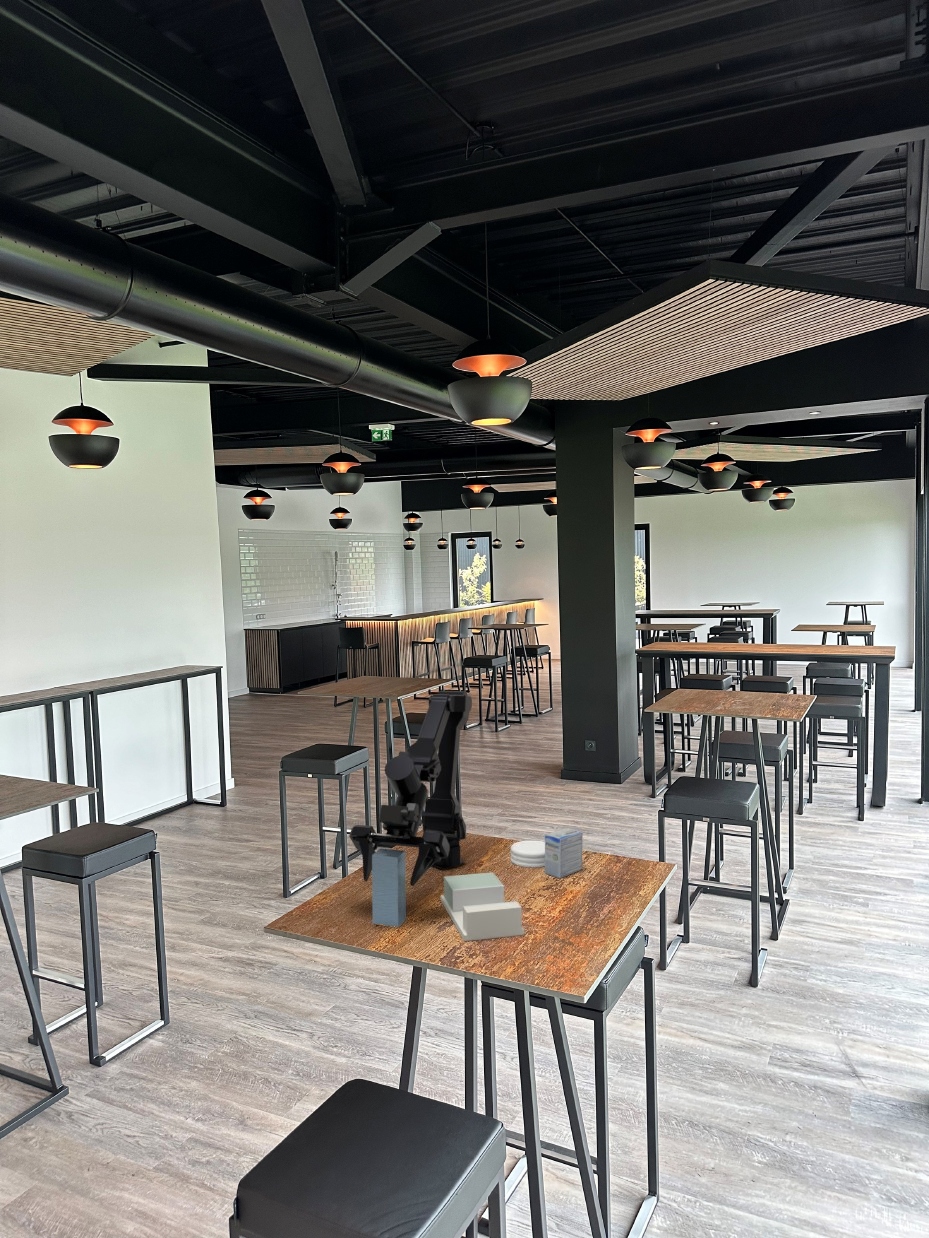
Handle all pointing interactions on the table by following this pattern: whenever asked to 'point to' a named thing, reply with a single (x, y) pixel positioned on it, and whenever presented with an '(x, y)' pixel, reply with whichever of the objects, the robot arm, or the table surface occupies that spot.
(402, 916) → the slate-blue block
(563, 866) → the medicine box
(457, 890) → the block
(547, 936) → the table surface
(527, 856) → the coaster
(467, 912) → the vise bed
